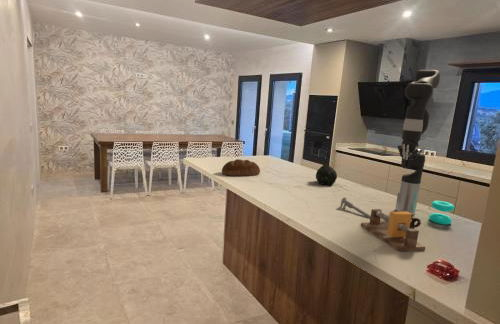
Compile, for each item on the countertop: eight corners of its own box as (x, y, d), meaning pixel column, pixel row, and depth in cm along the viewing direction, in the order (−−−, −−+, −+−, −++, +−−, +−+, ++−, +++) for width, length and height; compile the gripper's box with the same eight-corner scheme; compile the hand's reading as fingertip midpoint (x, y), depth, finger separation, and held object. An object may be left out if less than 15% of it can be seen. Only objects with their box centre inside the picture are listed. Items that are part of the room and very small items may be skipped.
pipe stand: (361, 225, 148) (363, 208, 146) (383, 224, 151) (385, 208, 149) (399, 251, 123) (402, 231, 122) (424, 250, 126) (428, 230, 125)
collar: (386, 234, 133) (390, 211, 131) (402, 233, 135) (406, 211, 133) (391, 237, 130) (395, 214, 128) (407, 236, 132) (411, 213, 130)
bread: (219, 172, 237) (219, 157, 234) (254, 171, 248) (256, 157, 245) (225, 177, 222) (226, 161, 220) (263, 176, 233) (264, 161, 231)
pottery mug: (391, 229, 148) (390, 211, 150) (395, 233, 154) (395, 216, 157) (419, 230, 140) (419, 212, 143) (423, 234, 147) (422, 216, 150)
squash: (338, 175, 230) (326, 158, 228) (342, 180, 215) (329, 163, 213) (322, 186, 233) (310, 170, 231) (325, 192, 218) (312, 175, 216)
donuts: (459, 207, 154) (437, 205, 155) (455, 226, 156) (433, 224, 157) (448, 201, 164) (428, 199, 165) (445, 219, 166) (425, 217, 167)
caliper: (340, 207, 174) (341, 196, 173) (341, 207, 174) (342, 196, 173) (372, 220, 157) (374, 208, 156) (374, 219, 158) (375, 207, 157)
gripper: (431, 131, 134) (424, 171, 137) (408, 128, 146) (402, 164, 150) (416, 130, 132) (409, 171, 135) (395, 127, 145) (389, 164, 148)
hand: (405, 167), depth 143 cm, fingers closed
